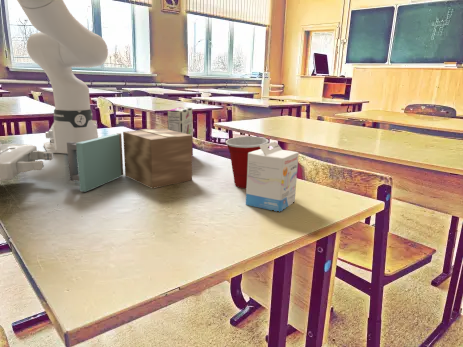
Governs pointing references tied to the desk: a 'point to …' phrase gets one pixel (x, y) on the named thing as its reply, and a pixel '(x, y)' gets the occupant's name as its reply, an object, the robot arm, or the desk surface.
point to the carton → (158, 156)
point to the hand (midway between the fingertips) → (48, 160)
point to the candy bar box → (181, 121)
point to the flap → (95, 161)
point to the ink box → (271, 177)
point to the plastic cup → (242, 156)
